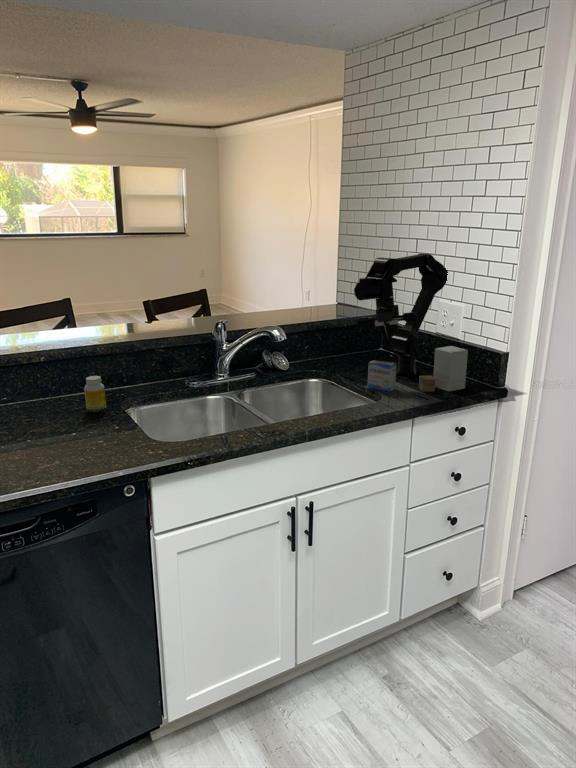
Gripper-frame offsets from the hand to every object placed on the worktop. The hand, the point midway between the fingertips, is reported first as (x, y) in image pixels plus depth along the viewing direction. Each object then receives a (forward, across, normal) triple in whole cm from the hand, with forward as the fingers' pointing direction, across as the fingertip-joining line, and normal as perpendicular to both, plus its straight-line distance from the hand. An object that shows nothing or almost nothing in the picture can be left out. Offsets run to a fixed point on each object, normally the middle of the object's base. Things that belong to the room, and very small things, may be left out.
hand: (388, 346), depth 183 cm
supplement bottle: (+7, -81, -44) cm, 92 cm away
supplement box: (+15, +18, 0) cm, 23 cm away
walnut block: (+14, +11, -4) cm, 18 cm away
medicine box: (+13, -3, -6) cm, 15 cm away
